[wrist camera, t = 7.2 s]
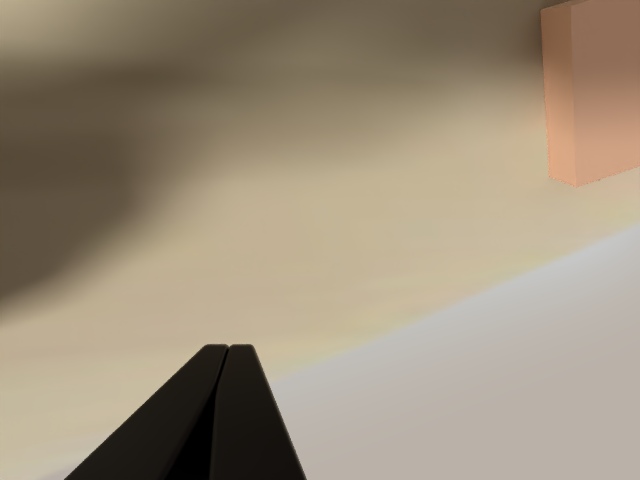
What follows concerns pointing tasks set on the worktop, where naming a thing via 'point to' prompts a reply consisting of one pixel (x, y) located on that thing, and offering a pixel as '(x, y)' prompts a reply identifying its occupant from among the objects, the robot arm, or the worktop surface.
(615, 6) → the block
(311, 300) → the worktop surface
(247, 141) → the worktop surface
